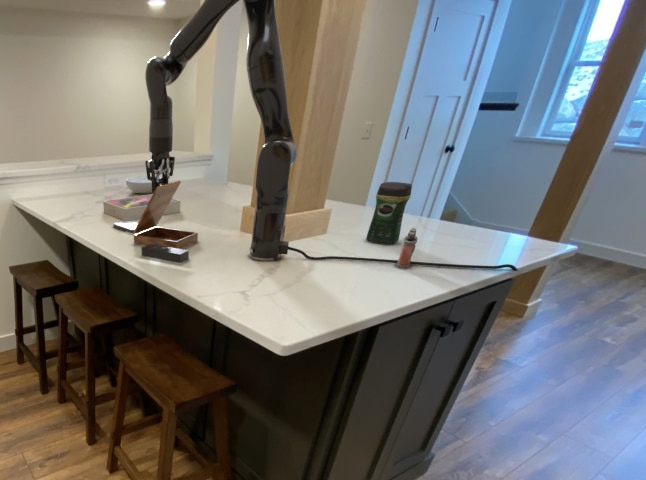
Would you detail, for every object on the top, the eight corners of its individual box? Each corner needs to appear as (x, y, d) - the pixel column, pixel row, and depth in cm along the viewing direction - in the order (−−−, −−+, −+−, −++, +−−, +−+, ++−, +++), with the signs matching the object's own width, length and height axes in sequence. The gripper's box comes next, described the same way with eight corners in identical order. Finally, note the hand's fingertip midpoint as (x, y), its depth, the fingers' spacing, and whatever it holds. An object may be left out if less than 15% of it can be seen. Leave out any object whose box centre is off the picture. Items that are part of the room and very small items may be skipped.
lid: (181, 181, 152) (170, 171, 152) (158, 188, 143) (147, 177, 143) (156, 226, 166) (146, 216, 167) (134, 234, 157) (124, 224, 158)
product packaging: (180, 212, 201) (180, 200, 198) (125, 221, 191) (124, 208, 188) (155, 204, 217) (155, 193, 215) (103, 212, 207) (103, 201, 204)
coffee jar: (400, 241, 150) (417, 181, 140) (391, 246, 146) (408, 185, 136) (371, 236, 156) (385, 179, 146) (361, 241, 152) (376, 182, 142)
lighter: (408, 269, 127) (419, 233, 122) (395, 267, 129) (405, 232, 123) (410, 261, 133) (421, 227, 127) (398, 260, 134) (408, 225, 129)
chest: (197, 242, 158) (198, 232, 156) (176, 252, 149) (176, 241, 147) (156, 236, 168) (155, 226, 166) (134, 245, 159) (133, 234, 157)
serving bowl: (123, 196, 239) (122, 182, 235) (129, 189, 256) (129, 176, 253) (161, 195, 236) (161, 181, 232) (165, 188, 253) (165, 175, 249)
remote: (188, 260, 142) (188, 249, 140) (179, 264, 139) (180, 253, 137) (150, 253, 150) (150, 242, 148) (141, 257, 147) (141, 246, 145)
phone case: (112, 227, 183) (131, 234, 171) (112, 223, 182) (131, 230, 170) (130, 224, 187) (151, 231, 175) (130, 220, 186) (150, 226, 174)
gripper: (157, 137, 135) (156, 197, 144) (182, 133, 144) (180, 189, 153) (137, 136, 139) (138, 194, 148) (163, 133, 148) (162, 187, 157)
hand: (160, 192), depth 151 cm, fingers closed on lid, 5 cm apart
